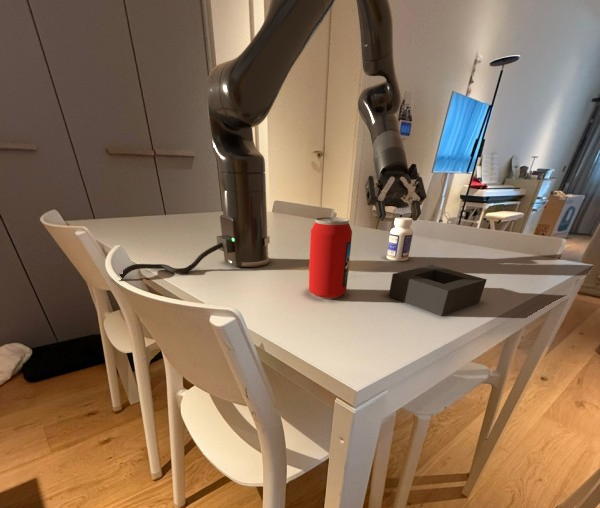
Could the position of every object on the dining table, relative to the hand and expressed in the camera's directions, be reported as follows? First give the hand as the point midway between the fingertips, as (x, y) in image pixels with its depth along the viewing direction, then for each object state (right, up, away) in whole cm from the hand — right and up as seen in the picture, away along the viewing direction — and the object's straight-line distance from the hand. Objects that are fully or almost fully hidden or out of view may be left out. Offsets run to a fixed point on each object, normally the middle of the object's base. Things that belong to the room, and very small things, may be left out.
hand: (400, 218), depth 80 cm
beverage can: (-19, -24, -19) cm, 36 cm away
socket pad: (0, -26, -21) cm, 33 cm away
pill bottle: (0, -8, +3) cm, 9 cm away
